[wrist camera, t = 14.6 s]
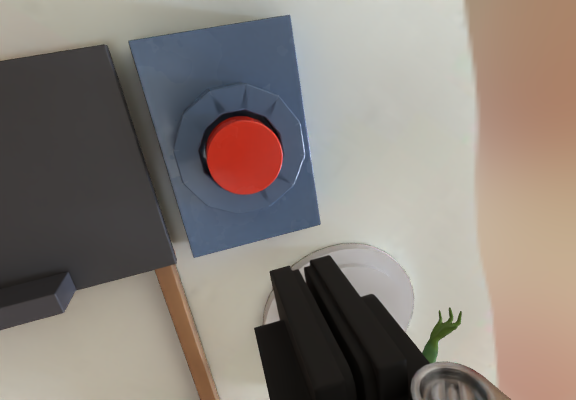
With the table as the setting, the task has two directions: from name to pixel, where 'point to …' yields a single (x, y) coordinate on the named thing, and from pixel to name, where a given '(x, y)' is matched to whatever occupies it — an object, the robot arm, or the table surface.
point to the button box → (222, 105)
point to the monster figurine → (374, 287)
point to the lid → (70, 184)
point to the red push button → (243, 155)
